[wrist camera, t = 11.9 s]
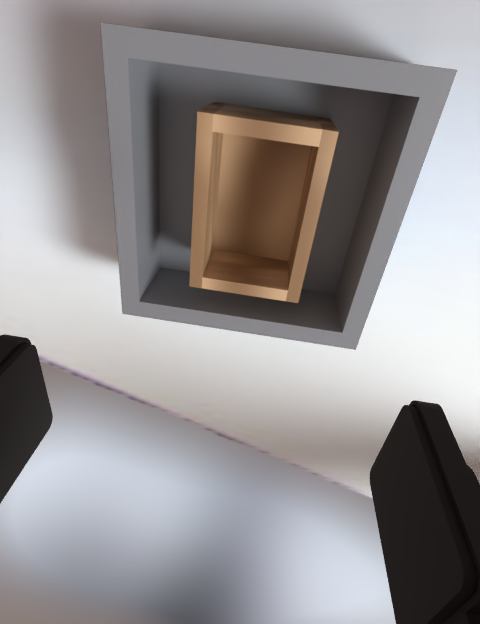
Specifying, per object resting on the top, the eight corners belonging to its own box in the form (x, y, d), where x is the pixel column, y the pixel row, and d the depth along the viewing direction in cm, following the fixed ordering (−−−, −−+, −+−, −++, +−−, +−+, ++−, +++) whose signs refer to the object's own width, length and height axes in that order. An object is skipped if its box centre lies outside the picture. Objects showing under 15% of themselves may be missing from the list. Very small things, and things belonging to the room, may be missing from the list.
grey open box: (418, 67, 22) (457, 70, 17) (344, 302, 31) (355, 349, 26) (142, 30, 22) (100, 22, 17) (149, 272, 31) (122, 313, 26)
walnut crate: (330, 118, 23) (339, 131, 19) (296, 267, 28) (298, 303, 24) (213, 102, 23) (197, 111, 19) (203, 253, 29) (189, 286, 24)
